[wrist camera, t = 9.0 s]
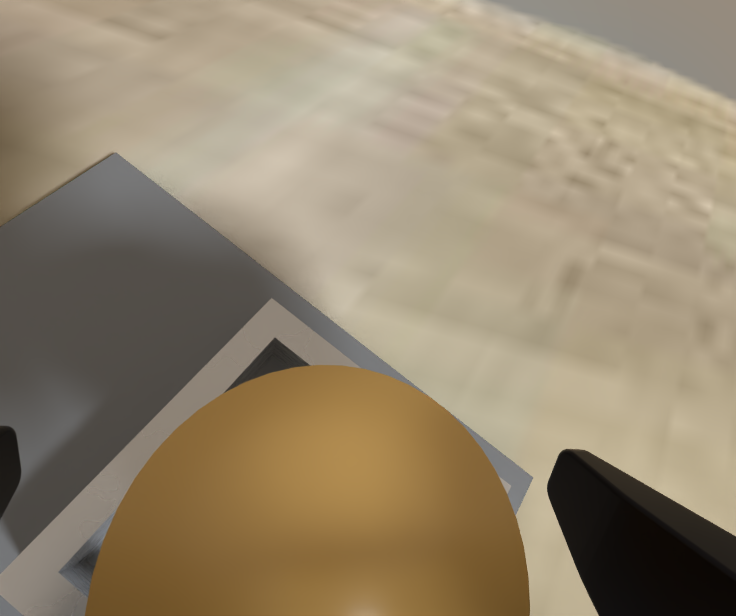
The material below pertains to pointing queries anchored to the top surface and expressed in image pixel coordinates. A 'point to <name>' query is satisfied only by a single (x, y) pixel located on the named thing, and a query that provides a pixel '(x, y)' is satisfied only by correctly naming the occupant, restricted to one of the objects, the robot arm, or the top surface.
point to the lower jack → (105, 492)
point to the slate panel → (124, 332)
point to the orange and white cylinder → (315, 509)
